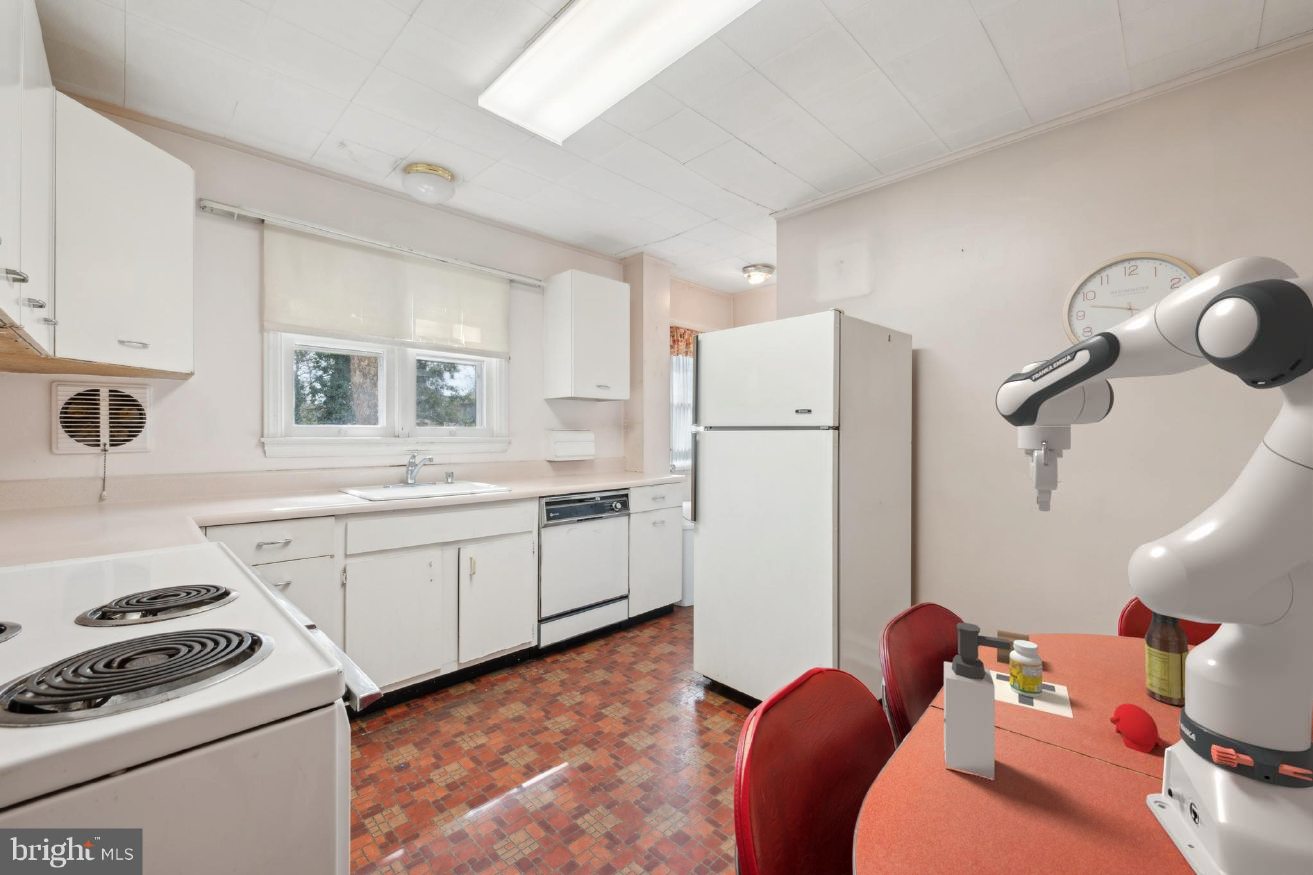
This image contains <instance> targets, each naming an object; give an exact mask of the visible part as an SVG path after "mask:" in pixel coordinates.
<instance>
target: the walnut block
mask: <svg viewBox="0 0 1313 875" xmlns="http://www.w3.org/2000/svg"><path fill="white" fill-rule="evenodd" d="M996 634H997V636H996V638H1001V639H1009V641H1010V650H1005V649H999V648H996V662H997V663H1001V664H1005V665H1010V653H1011V652H1012V651H1013V650H1015V649H1014V647H1013V645H1014V641H1015V640H1024V641H1029V642H1030V636H1029V635H1028V634H1023V633H1017V632H1011V631H1006V630H1000V629H997V633H996Z"/></svg>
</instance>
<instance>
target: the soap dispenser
mask: <svg viewBox="0 0 1313 875" xmlns="http://www.w3.org/2000/svg"><path fill="white" fill-rule="evenodd" d="M956 629H957V653H958V654H956V655H955V656H954V657H953V658H952V662H950V661H943V750H944V751H945V755H944V763H946V766H948V767H953V768H955V769H960V770H964V771H967V772H971V773H973V774H978V775H979V776H985V777H987V778H992V779H994V780H995V735H996V733H995V731H996V730H995V729H996V728H995V727H996V726H995V715H996V714H995V713H996V712H995V711H996V710H995V707H996V706H995V703H996V702H995V701H996V700H995V686H994V683H993V680H992V676H991V673H990V670H991V669H990V668H986V667H985V665H984V662H983V661H982V660H981V659H980V658H979V657H980V656H979V655H980V654H979V646H981V647H987V648H993V649H997V648H999V649H1005V650H1010V641H1009V639H1001V638H997V637H993V636H992V637H991V636H986V635H979V634H980V632H981V628H980V627H979V625H977V624H973V623H969V622H968V623H967V622H958V623H957V624H956ZM944 751H943V752H944ZM946 766H945V767H946Z"/></svg>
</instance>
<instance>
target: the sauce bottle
mask: <svg viewBox="0 0 1313 875" xmlns="http://www.w3.org/2000/svg"><path fill="white" fill-rule="evenodd" d="M1151 611H1152V610H1151ZM1151 613H1152V615H1151V620H1150V624H1149V626H1148V629H1147V631H1146V633H1145V635H1144V658H1145V659H1144V660H1145V662H1144V664H1145V667H1144V668H1145V687H1146V691H1147V694H1148V695H1149V696H1150V697H1151V698H1153V699H1155V700H1157V701H1159V702H1162V703H1164V704H1167V705H1168V704H1169V705H1176V706H1185V661H1186V658H1187V655H1188V654H1189V652H1190V651H1189V644H1188V642H1189V640H1188V637H1187V634H1186V632H1185V630H1184V629H1183V628H1182V627H1181V626H1180V619H1179V618H1175V617H1170V616H1166V615H1161V614H1158V613H1156V612H1154V611H1152V612H1151Z"/></svg>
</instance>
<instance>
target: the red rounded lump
mask: <svg viewBox="0 0 1313 875" xmlns="http://www.w3.org/2000/svg"><path fill="white" fill-rule="evenodd" d="M1109 721H1110V723H1111V724H1114V726H1115V734H1122V741H1123V743H1124V746H1125V747H1126V748H1129V749H1131V750H1133V751H1135V752H1140V753H1143V754H1149V753H1151V751H1152V750H1153V749H1154V747H1155V746H1162V745H1163V744H1164V740H1163V739H1162V738H1161V736H1160V733H1159V730H1158V726H1157V724H1156V722H1155V720H1154V719H1153V717H1152V716H1151V715H1150V714H1149V713H1148V712H1147V711H1146V710H1145V709H1144V708H1142V707H1140V706H1139V705H1136V704H1134V703H1122V704H1119V705H1118V706H1117V707H1116V708H1115V709H1114V712H1113V716H1111V717H1110V718H1109Z"/></svg>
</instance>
